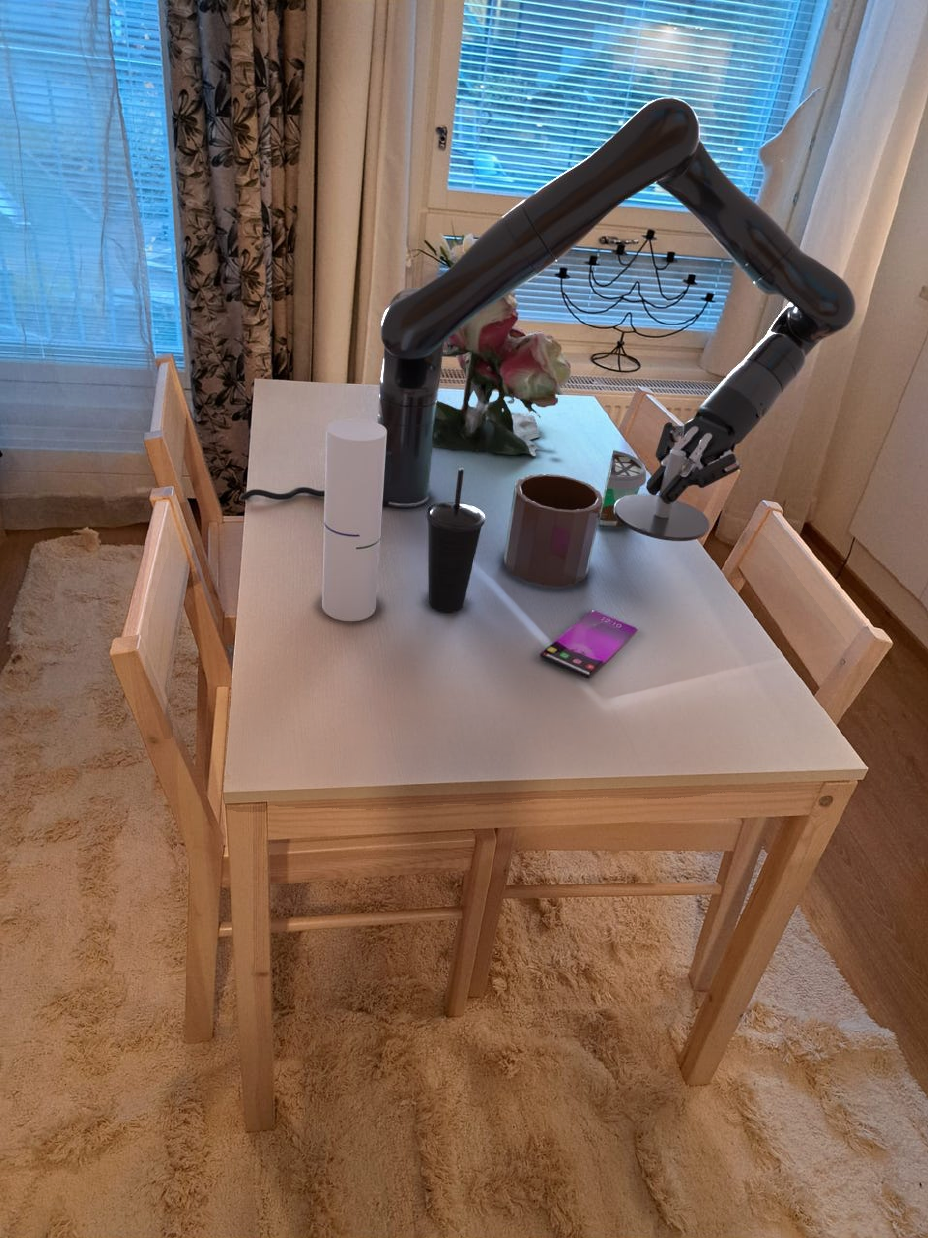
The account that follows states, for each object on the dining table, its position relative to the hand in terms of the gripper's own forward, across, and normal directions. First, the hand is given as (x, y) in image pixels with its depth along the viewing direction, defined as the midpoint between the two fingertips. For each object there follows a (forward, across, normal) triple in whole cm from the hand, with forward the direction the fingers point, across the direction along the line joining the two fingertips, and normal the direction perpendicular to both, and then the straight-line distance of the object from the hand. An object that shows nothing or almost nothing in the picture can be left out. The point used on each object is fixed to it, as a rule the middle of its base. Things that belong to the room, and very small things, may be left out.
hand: (657, 495), depth 122 cm
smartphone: (+22, +9, -1) cm, 24 cm away
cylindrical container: (+40, -13, -18) cm, 45 cm away
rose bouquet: (0, -61, +22) cm, 65 cm away
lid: (+1, 0, +4) cm, 5 cm away
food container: (+1, -18, +21) cm, 28 cm away
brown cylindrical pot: (+17, -10, +5) cm, 20 cm away
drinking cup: (+31, -8, -9) cm, 33 cm away
